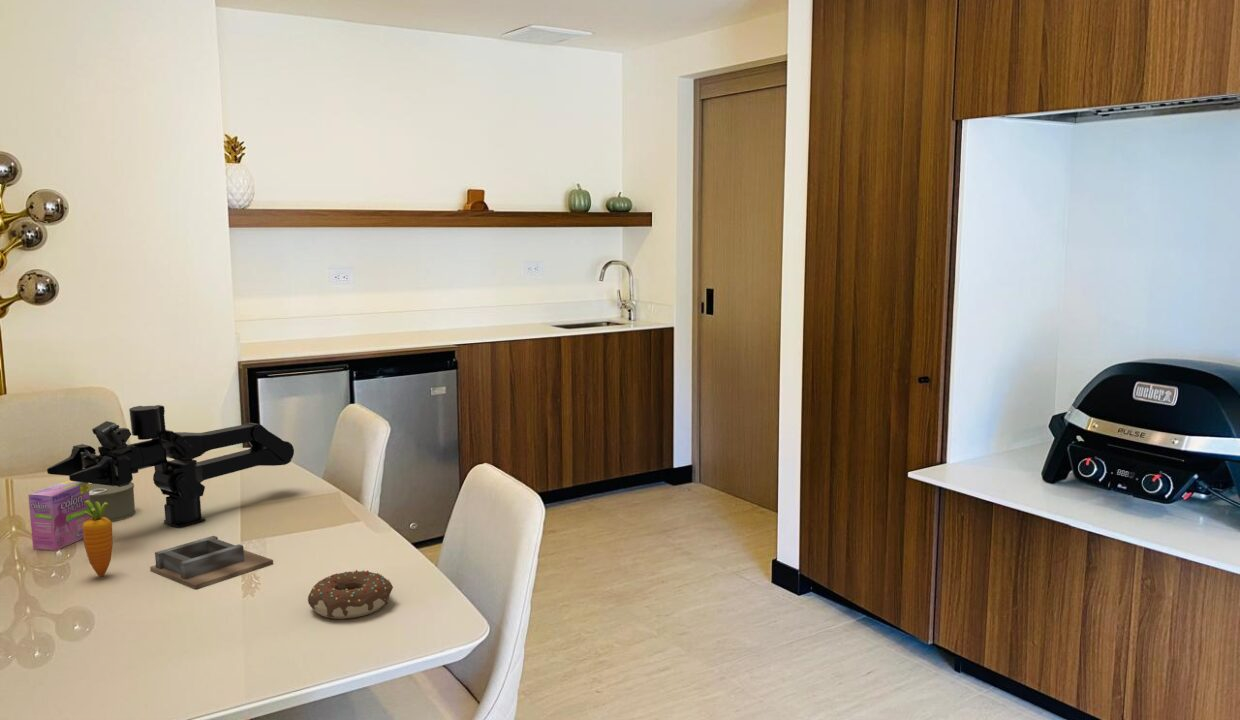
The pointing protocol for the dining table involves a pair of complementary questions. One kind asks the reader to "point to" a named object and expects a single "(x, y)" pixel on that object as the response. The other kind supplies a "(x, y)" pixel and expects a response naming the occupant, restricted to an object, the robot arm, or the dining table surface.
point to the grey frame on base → (206, 562)
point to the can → (114, 500)
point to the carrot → (98, 538)
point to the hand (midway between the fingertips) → (58, 474)
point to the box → (58, 515)
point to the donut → (350, 594)
